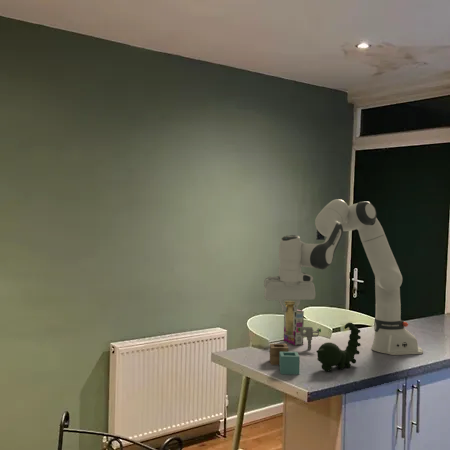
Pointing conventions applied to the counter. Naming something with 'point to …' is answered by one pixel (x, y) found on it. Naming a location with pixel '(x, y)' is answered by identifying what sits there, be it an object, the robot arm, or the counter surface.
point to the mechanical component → (308, 334)
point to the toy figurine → (339, 351)
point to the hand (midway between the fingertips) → (289, 311)
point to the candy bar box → (295, 328)
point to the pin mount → (276, 352)
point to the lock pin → (289, 317)
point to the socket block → (289, 362)
